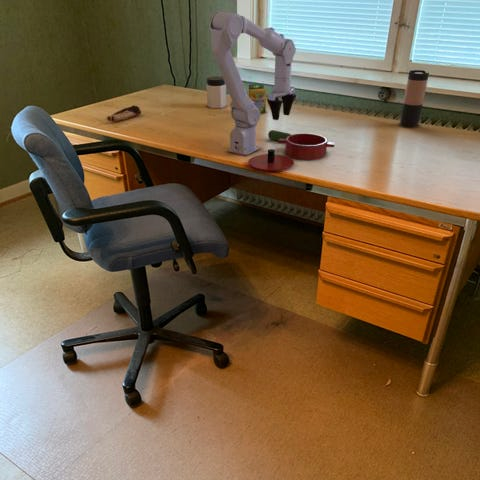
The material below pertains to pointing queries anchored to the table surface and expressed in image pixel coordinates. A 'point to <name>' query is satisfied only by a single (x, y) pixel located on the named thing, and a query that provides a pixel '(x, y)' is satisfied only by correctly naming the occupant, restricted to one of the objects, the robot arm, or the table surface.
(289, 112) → the robot arm
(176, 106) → the table surface
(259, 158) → the lid
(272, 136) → the cucumber
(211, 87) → the jar
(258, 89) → the crayon box
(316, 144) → the pot
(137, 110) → the lashed bone hook
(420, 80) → the travel mug
